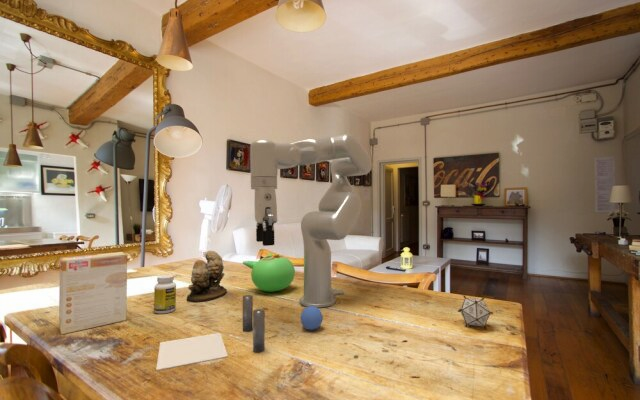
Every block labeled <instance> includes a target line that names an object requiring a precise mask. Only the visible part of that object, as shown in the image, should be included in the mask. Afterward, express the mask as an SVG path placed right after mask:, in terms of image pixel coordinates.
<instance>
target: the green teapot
mask: <svg viewBox="0 0 640 400" xmlns="http://www.w3.org/2000/svg"><path fill="white" fill-rule="evenodd" d="M242 264H243V265H244V266H246V267H248V268H250V269H251V274H250V275H251V281H252V283H253V285H254V286H255V287H256V288H258V289H259V290H261V291H263V292H268V293H273V292H279V291H282V290H284V289H286V288H287V287H289V286H290V285H291V283H292V282H293V281H294V278H295V276H296V275H295V273H296V272H295V271H296V269H295V267H294V264H293V262H292V261H291V260H290V259H288V258H287V257H285V256H282V255H280V254H277V253H276V254H274V255H273V253H272V252H268V253H267V254H266V256H265V257H263V258H261V259H259V260H258V261H254V260H253V261H251V260H243V262H242Z"/></svg>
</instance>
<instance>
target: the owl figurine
mask: <svg viewBox="0 0 640 400" xmlns="http://www.w3.org/2000/svg"><path fill="white" fill-rule="evenodd" d="M205 260H207V262H206V261H205ZM205 260H201V259H197V260H195V261H194V264H193V266H192V269H191V270H192V271H191V277H190V281H191V283H192V284H189V285H188V288H187V289H188V290H189V291H190V293H189V294H188V295H187V296H186V301H187V302H189V303H195V304H196V303H205V302H209V301H214V300H217V299H220V298H222V297H224V296H225V295H226V294H227V288H225V287H224V286H223V285H221V281H222V279H223V278H224V276H225V274H226V273H224V269H225V266H224V263H223V258H222V257H221V256H220V254H219V253H218V252H216V251H214V250H207V251H206V253H205Z"/></svg>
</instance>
